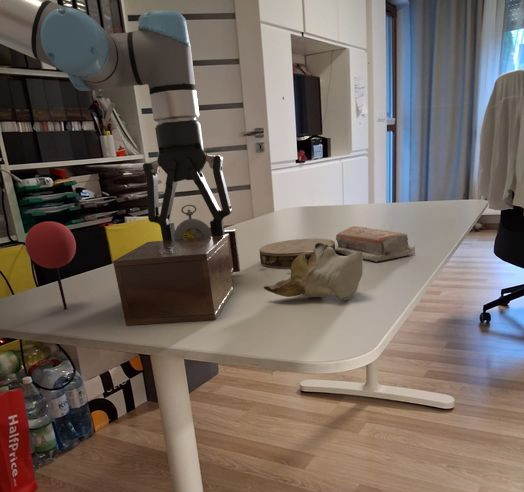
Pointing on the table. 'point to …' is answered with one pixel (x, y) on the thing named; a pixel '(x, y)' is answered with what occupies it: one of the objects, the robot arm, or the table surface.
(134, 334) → the table surface
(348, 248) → the old brick
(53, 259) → the lollipop
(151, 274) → the wooden box
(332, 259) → the ceramic sculpture
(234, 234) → the drawer
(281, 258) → the tambourine
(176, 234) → the pocket watch
